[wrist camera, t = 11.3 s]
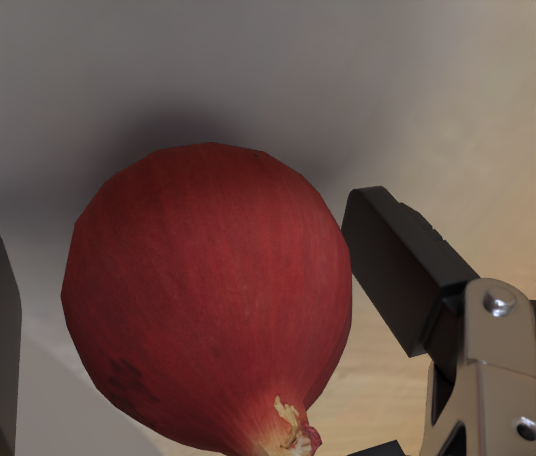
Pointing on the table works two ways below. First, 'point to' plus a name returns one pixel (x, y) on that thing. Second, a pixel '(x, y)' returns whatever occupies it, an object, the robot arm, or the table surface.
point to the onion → (211, 298)
